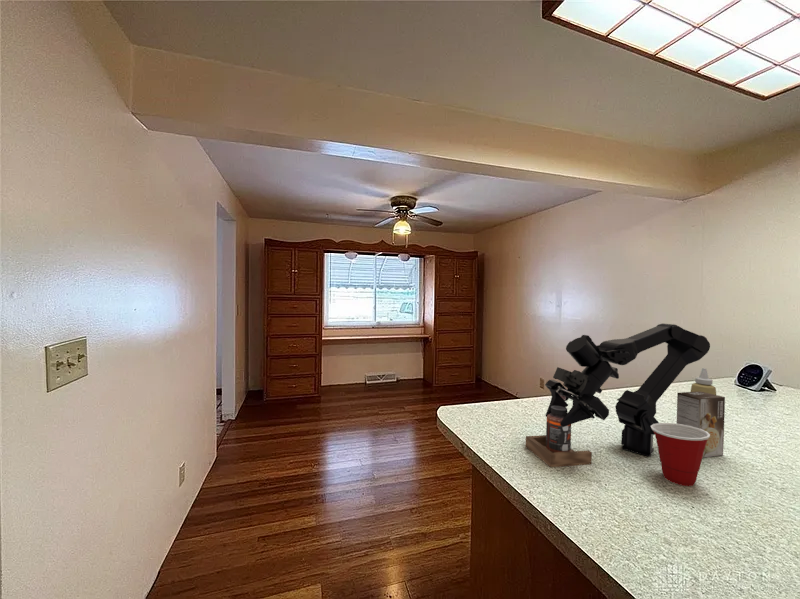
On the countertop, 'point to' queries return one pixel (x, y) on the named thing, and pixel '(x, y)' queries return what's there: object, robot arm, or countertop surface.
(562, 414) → the supplement bottle
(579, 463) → the tray
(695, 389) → the squeeze bottle
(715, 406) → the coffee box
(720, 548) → the countertop surface
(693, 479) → the plastic cup
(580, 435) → the countertop surface
